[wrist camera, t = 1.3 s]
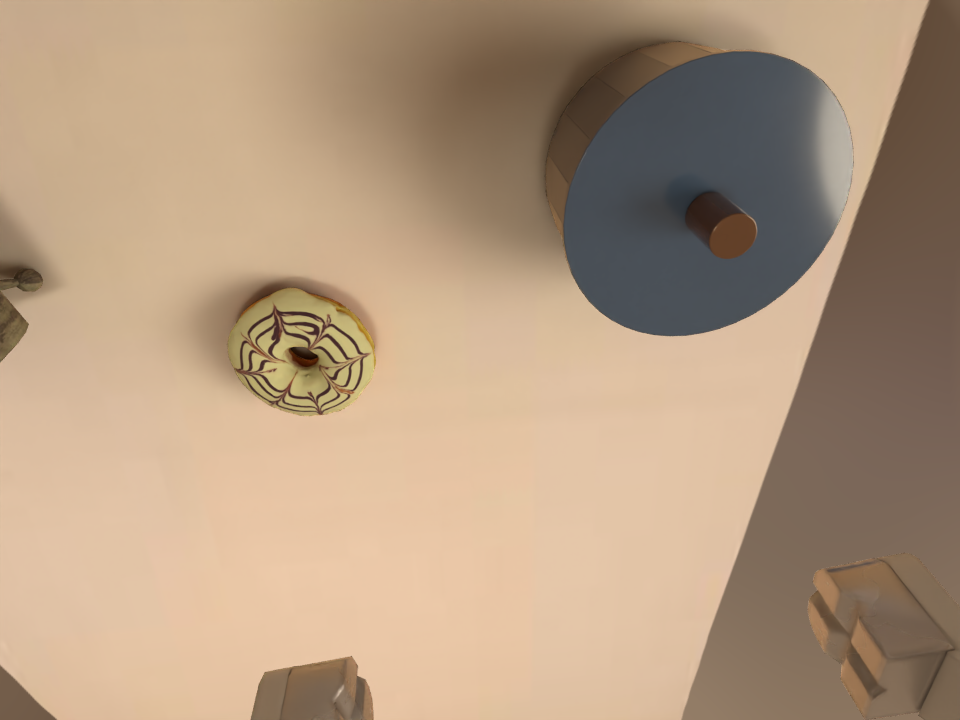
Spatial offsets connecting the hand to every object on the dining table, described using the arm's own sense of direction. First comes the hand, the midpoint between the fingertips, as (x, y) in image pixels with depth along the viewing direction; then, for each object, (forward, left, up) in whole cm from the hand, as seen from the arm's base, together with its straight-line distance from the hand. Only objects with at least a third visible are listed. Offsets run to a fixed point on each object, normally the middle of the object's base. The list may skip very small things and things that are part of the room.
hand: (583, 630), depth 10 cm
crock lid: (+5, +13, -27) cm, 30 cm away
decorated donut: (+13, -15, -35) cm, 41 cm away
